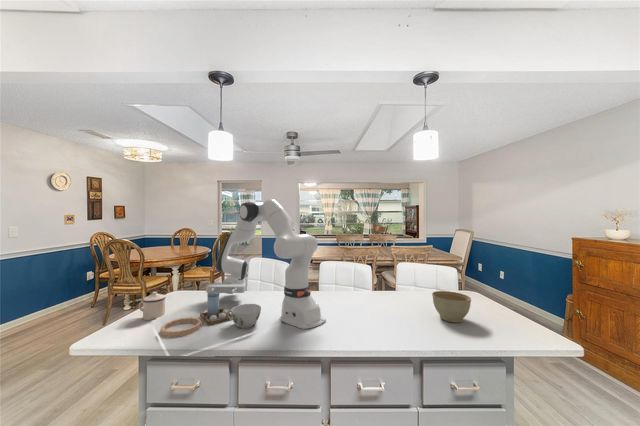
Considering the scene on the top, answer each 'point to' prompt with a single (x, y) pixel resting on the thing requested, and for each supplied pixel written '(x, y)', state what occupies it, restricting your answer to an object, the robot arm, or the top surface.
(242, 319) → the teacup
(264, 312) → the top surface
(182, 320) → the tan flat ring
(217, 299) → the pebble jar
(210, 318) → the pebble
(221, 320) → the parts tray
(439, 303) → the planter bowl
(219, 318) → the pebble
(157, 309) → the teacup with lid
